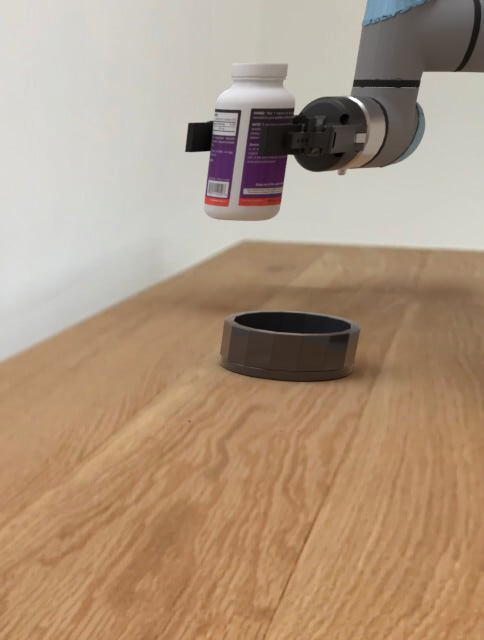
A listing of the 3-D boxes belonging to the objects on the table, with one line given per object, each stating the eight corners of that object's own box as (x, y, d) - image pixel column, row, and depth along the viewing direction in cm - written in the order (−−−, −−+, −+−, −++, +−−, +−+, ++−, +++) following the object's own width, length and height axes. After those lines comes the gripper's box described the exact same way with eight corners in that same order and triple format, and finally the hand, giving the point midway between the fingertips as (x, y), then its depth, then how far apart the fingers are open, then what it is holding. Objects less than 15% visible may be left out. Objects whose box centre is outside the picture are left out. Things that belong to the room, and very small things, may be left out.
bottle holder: (351, 357, 104) (360, 315, 102) (351, 385, 94) (361, 339, 92) (225, 348, 107) (231, 306, 105) (213, 375, 97) (219, 329, 95)
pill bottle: (284, 217, 122) (308, 63, 114) (271, 224, 115) (295, 62, 108) (210, 213, 125) (229, 63, 117) (194, 220, 118) (212, 62, 111)
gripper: (416, 176, 122) (310, 186, 109) (251, 165, 135) (139, 174, 122) (432, 97, 119) (325, 98, 105) (261, 94, 131) (146, 95, 118)
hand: (225, 139), depth 113 cm, fingers closed on pill bottle, 8 cm apart
